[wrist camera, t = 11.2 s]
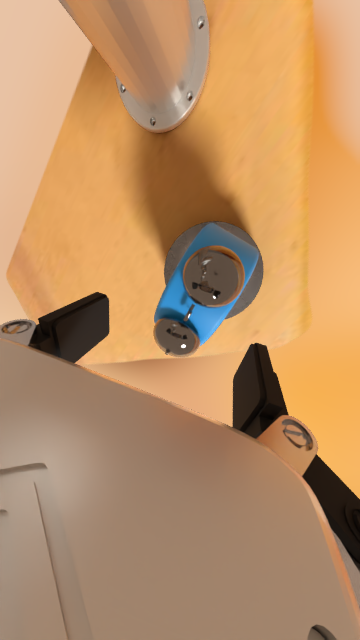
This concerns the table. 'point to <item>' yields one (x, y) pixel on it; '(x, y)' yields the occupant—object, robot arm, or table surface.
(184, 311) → the alarm clock
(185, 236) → the round tin
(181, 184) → the table surface
